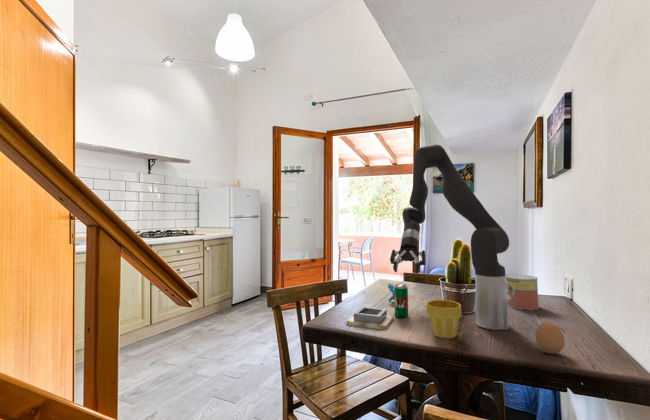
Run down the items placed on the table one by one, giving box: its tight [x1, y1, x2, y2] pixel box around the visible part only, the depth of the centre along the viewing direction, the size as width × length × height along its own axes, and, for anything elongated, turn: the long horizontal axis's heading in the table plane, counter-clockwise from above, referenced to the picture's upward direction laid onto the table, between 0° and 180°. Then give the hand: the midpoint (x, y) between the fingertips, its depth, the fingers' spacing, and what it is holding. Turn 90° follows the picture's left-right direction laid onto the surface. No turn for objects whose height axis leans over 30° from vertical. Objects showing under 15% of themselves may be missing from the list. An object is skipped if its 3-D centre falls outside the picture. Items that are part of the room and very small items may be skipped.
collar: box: [353, 306, 388, 324], centre depth 115 cm, size 9×9×2 cm
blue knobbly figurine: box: [387, 283, 395, 302], centre depth 144 cm, size 11×6×10 cm
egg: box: [535, 321, 566, 355], centre depth 87 cm, size 6×6×8 cm
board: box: [345, 314, 395, 331], centre depth 115 cm, size 14×12×1 cm
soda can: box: [393, 283, 409, 319], centre depth 121 cm, size 5×5×12 cm
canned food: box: [505, 274, 539, 311], centre depth 133 cm, size 11×11×12 cm
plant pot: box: [425, 299, 463, 339], centre depth 101 cm, size 10×10×10 cm
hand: (406, 271), depth 131 cm, fingers open, 8 cm apart
